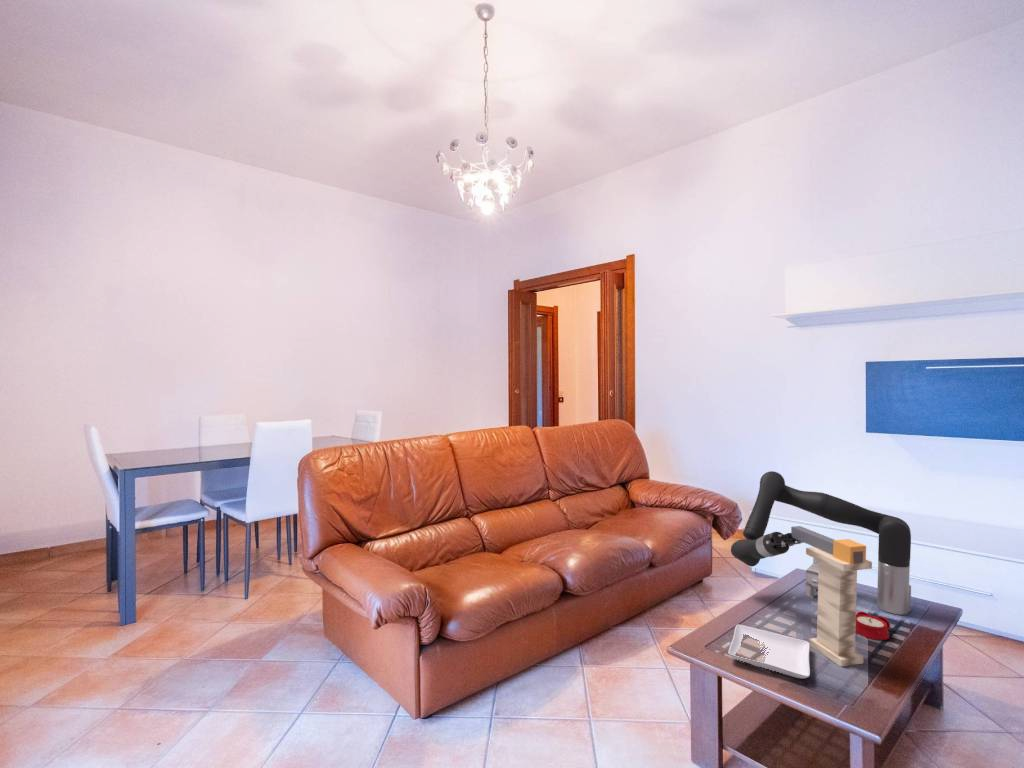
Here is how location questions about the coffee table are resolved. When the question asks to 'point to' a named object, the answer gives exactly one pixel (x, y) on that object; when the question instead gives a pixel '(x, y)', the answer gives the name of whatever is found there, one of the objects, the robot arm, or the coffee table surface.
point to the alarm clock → (872, 626)
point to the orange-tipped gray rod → (832, 545)
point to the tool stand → (836, 608)
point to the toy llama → (812, 578)
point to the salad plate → (775, 651)
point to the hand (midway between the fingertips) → (802, 535)
